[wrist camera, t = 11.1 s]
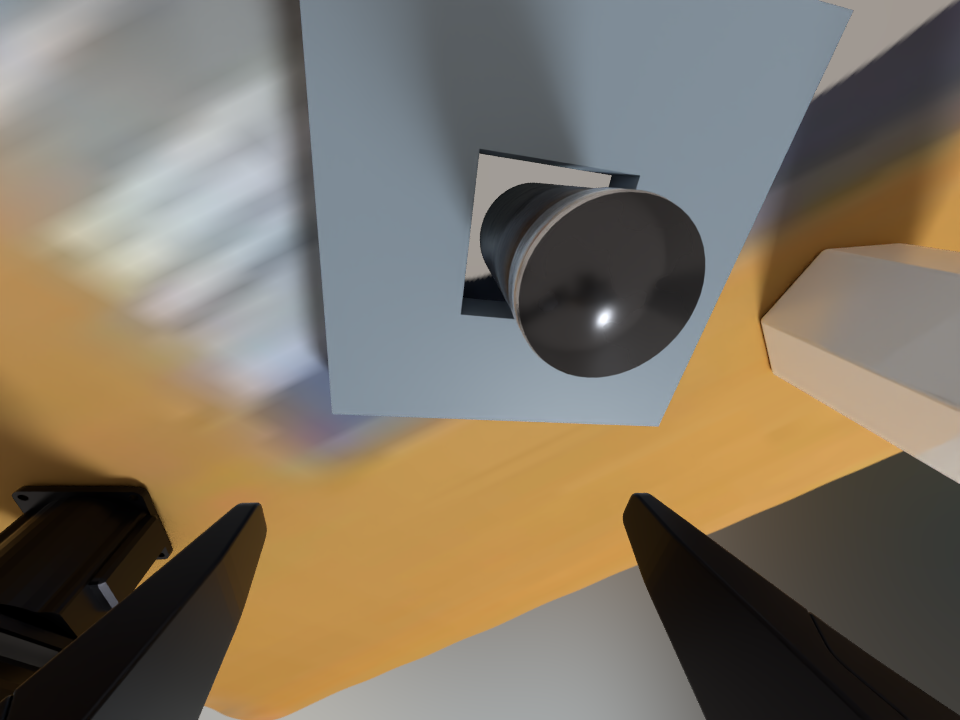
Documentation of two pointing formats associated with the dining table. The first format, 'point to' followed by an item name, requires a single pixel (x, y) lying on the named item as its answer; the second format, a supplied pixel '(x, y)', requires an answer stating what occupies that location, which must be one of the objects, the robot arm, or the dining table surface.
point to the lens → (594, 272)
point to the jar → (878, 344)
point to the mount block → (541, 139)
